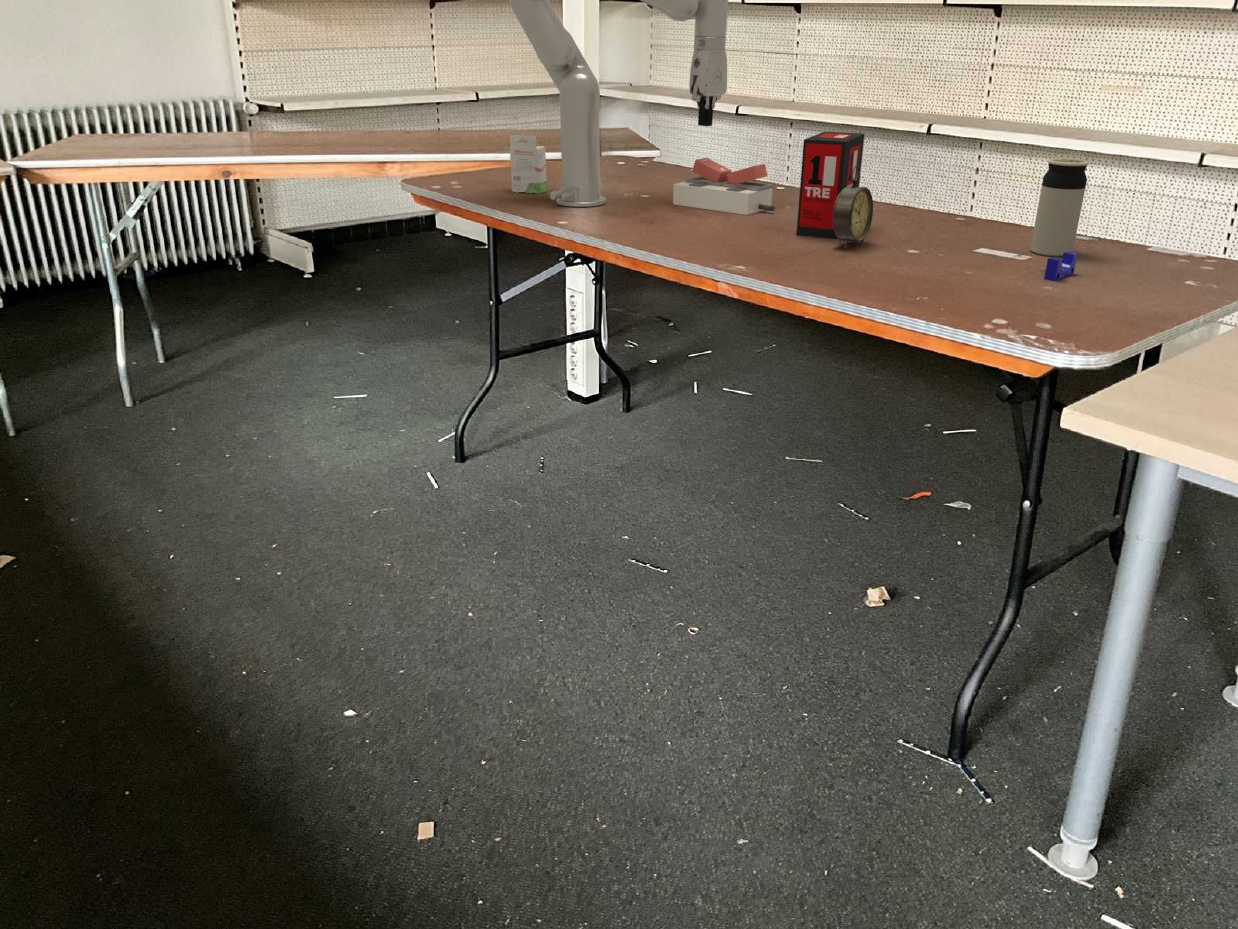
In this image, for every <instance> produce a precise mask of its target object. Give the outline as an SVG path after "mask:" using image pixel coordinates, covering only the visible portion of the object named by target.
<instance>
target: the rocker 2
mask: <svg viewBox="0 0 1238 929" xmlns="http://www.w3.org/2000/svg"><path fill="white" fill-rule="evenodd" d="M727 177H728V181H729V184H733V185H736V184H740V183H744V182H752V181H755V180H758V179H762V178H766V177H768V172H767V167H766V163H762V164H755V165H753V166H752V165H751V166H749V167H746V168H741V169H739V170H734V171H731V173H727Z"/></svg>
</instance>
